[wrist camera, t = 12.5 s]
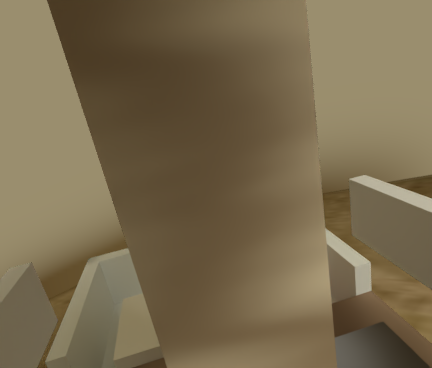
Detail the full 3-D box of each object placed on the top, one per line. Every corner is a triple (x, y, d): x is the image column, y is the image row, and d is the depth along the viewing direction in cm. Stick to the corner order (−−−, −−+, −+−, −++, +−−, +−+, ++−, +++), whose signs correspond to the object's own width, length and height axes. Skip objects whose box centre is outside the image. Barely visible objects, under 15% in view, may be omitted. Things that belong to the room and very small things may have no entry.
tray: (298, 251, 28) (292, 204, 26) (372, 330, 18) (370, 262, 17) (107, 307, 25) (88, 258, 24) (78, 430, 16) (44, 362, 14)
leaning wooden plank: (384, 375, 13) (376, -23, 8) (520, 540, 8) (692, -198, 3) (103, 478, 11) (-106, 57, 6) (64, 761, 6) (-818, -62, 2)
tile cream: (202, 312, 21) (194, 278, 21) (216, 372, 17) (205, 331, 16) (135, 333, 21) (123, 298, 20) (129, 401, 16) (113, 360, 15)
